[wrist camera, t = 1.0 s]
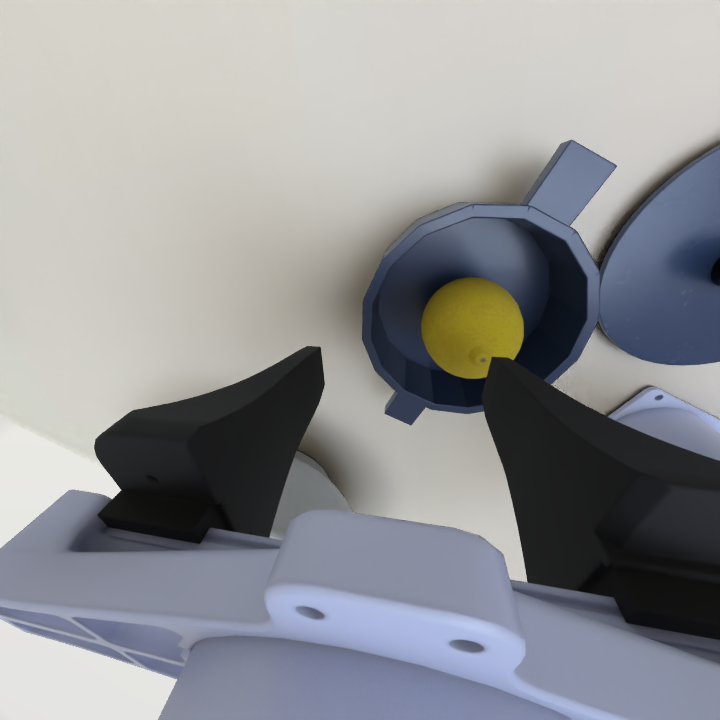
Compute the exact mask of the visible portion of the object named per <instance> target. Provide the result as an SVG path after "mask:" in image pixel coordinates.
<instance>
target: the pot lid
mask: <svg viewBox="0 0 720 720" xmlns="http://www.w3.org/2000/svg"><path fill="white" fill-rule="evenodd" d="M598 322H599V324H600V326H601V328H602V330H603V332H604V333H605V334H606V336H607V337H608V338H609V339H610V340H611V341H612V342H613V343H614V344H615V345H616V346H618V347H619V348H620V349H622V350H624V351H625V352H627V353H629V354H630V355H632V356H635V357H637V358H640V359H642V360H646V361H650V362H653V363H660V364H667V365H699V364H707V363H714V362H720V145H718V146H716V147H714V148H713V149H711V150H709V151H708V152H706V153H705V154H703V155H702V156H700V157H698V158H697V159H695V160H694V161H692V162H691V163H689V164H688V165H687V166H685V167H684V168H683V169H681V170H680V171H679V172H677V173H676V174H674V175H673V176H672V177H671V178H669V179H668V180H667V181H666V182H665V183H664V184H663V185H661V186H660V187H659V188H658V189H657V190H656V191H655V192H653V193H652V194H651V195H650V196H649V197H648V199H647V200H646V201H645V202H644V203H643V204H642V205H641V206H640V207H639V208H638V209H637V210H636V211H635V212H634V214H633V215H632V216H631V217H630V218H629V220H628V221H627V222H626V223H625V225H624V226H623V227H622V229H621V230H620V232H619V233H618V235H617V236H616V238H615V239H614V241H613V242H612V244H611V246H610V248H609V250H608V252H607V254H606V256H605V258H604V260H603V263H602V265H601V268H600V310H599V320H598Z"/></svg>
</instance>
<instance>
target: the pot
mask: <svg viewBox="0 0 720 720" xmlns="http://www.w3.org/2000/svg"><path fill="white" fill-rule="evenodd" d="M616 167H617V165H615V164H613V163H612V162H610V161H608V160H606V159H605V158H603V157H601V156H599V155H598V154H596V153H594V152H593V151H591V150H589V149H587V148H586V147H584V146H582V145H580V144H579V143H577V142H575V141H573V140H570V141H567V142H564V143H561V144H560V146H559V147H558V149H557V150H556V152H555V153H554V155H553V156H552V158H551V159H550V161H549V162H548V164H547V165H546V167H545V168H544V170H543V171H542V173H541V174H540V176H539V177H538V179H537V180H536V182H535V183H534V185H533V186H532V188H531V189H530V191H529V192H528V194H527V195H526V197H525V198H524V200H523V201H522V203H521V204H505V203H467V202H460V203H456V204H454V205H451V206H449V207H446V208H444V209H441V210H438V211H436V212H434V213H431V214H429V215H426V216H424V217H422V218H419V219H418V220H416V221H415V222H414V223H413V224H412V225H411V226H410V227H409V228H408V229H407V230H406V231H405V232H403V233H402V234H401V235H400V236H399V237H398V238H397V239H396V240H395V241H394V242H393V243H392V244H391V245H390V246H389V247H388V249H387V250H386V252H385V254H384V257H383V259H382V261H381V263H380V265H379V267H378V269H377V272H376V274H375V276H374V278H373V280H372V282H371V284H370V287H369V289H368V291H367V293H366V295H365V297H364V301H363V319H362V340H363V343H364V345H365V348H366V350H367V352H368V355H369V357H370V360H371V362H372V365H373V367H374V369H375V371H376V372H377V373H378V374H379V375H380V376H381V377H382V378H383V379H384V380H385V381H386V382H387V383H388V384H389V385H390V386H391V387H392V388H393V389H394V390H395V392H394V394H393V395H392V397H391V398H390V400H389V401H388V403H387V404H386V405H385V414H387V415H389V416H391V417H393V418H396V419H398V420H400V421H402V422H404V423H407V424H409V425H412V424H413V423H414V421H415V420H416V419H417V418H418V416H419V415H420V414H421V413H422V411H423V410H424V409H425V407H427V408H429V409H431V410H438V411H447V412H455V413H463V414H471V413H477V412H483V411H484V408H483V402H482V393H483V389H484V385H485V381H486V377H484V378H478V379H467V378H462V377H458V376H455V375H452V374H450V373H448V372H446V371H445V370H444V369H442V368H441V367H440V366H438V365H437V364H436V363H435V361H434V360H433V359H432V357H431V356H430V354H429V353H428V351H427V350H426V347H425V344H424V341H423V339H422V330H421V321H422V316H423V312H424V309H425V307H426V305H427V303H428V301H429V299H430V298H431V297H432V296H433V295H434V294H435V292H436V291H437V290H439V289H440V288H441V287H443V286H444V285H445V284H447V283H449V282H452V281H454V280H456V279H462V278H467V277H475V278H483V279H486V280H489V281H492V282H495V283H497V284H498V285H500V286H501V287H502V288H504V289H505V290H507V291H508V292H509V294H510V295H511V296H512V297H513V299H514V300H515V301H516V302H517V304H518V306H519V309H520V312H521V315H522V318H523V322H524V338H523V341H522V345H521V348H520V350H519V352H518V354H517V355H516V357H515V358H514V361H515V362H517V363H518V364H520V365H521V366H523V367H524V368H526V369H527V370H529V371H530V372H532V373H533V374H535V375H536V376H538V377H539V378H541V379H542V380H544V381H545V382H547V383H548V384H550V385H551V384H552V383H553V382H554V381H555V380H556V379H558V378H559V377H560V376H561V375H562V374H563V373H564V372H565V371H566V370H567V369H568V368H569V367H571V366H572V365H573V364H574V363H575V362H576V361H577V360H578V359H579V357H580V355H581V353H582V351H583V349H584V347H585V346H586V344H587V342H588V340H589V338H590V336H591V334H592V332H593V330H594V328H595V326H596V324H597V322H598V320H599V310H600V270H599V269H598V267H597V265H596V263H595V262H594V260H593V258H592V256H591V255H590V253H589V251H588V249H587V248H586V246H585V244H584V242H583V241H582V239H581V237H580V236H579V234H578V232H577V231H576V230H575V229H573V228H572V227H570V225H571V224H572V222H573V221H574V220H575V219H576V217H577V216H578V215H579V214H580V212H581V211H582V210H583V209H584V207H585V206H586V205H587V204H588V202H589V201H590V200H591V198H592V197H593V196H594V195H595V193H596V192H597V191H598V190H599V188H600V187H601V186H602V185H603V183H604V182H605V181H606V180H607V178H608V177H609V176H610V175H611V173H612V172H613V171H614V169H615V168H616Z"/></svg>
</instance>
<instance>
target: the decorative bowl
mask: <svg viewBox="0 0 720 720" xmlns="http://www.w3.org/2000/svg"><path fill="white" fill-rule="evenodd" d="M309 510H338V511H345V512H352V513H354V512H353V510H352V509H351V507H350V505H349V504H348V502H347V501H346V499H345V498H344V496H343V495H342V494H341V492H340V491H339V490H338V489H337V488H336V486H335V485H334V484H333V483H332V482H331V481H330V479H329V477H328V475H327V473H326V472H325V471H324V469H323V468H322V467H321V466H320V465H319V464H318V463H317V462H316V461H314V460H313V459H312V458H310V457H309V456H307V455H305V454H303V453H301V452H299V451H296V454H295V457H294V459H293V462H292V465H291V468H290V471H289V474H288V477H287V480H286V483H285V486H284V489H283V492H282V495H281V499H280V502H279V505H278V509H277V512H276V516H275V519H274V522H273V526H272V530H271V533H270V537H269V538H273V539H278V540H283V539H284V536H285V534H286V531H287V528H288V526H289V523H290V520H291V519H293V518H295V517H297V516H299V515H301V514H303V513H305V512H307V511H309Z"/></svg>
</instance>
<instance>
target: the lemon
mask: <svg viewBox="0 0 720 720" xmlns="http://www.w3.org/2000/svg"><path fill="white" fill-rule="evenodd" d="M421 330H422V339H423V341H424V344H425V347H426V350H427V351H428V353H429V354H430V356H431V357H432V359H433V360H434V361H435V363H436V364H437V365H438V366H440V367H441V368H442V369H444V370H445V371H446V372H448V373H450V374H452V375H455V376H458V377H462V378H467V379H478V378H484V377H487V373H488V370H489V366H490V362H491V358H492V357H508V358H510V359H512V360H514V358H515V357H516V355H517V354H518V352H519V350H520V348H521V345H522V341H523V338H524V322H523V318H522V315H521V312H520V309H519V306H518V304H517V302H516V301H515V300H514V299H513V297H512V296H511V295H510V294H509V292H508V291H507V290H505V289H504V288H502V287H501V286H500V285H498V284H497V283H495V282H492V281H489V280H486V279H483V278H475V277H467V278H462V279H456V280H454V281H452V282H449V283H447V284H445V285H444V286H443V287H441V288H440V289H439V290H437V291H436V292H435V294H434V295H433V296H432V297H431V298H430V299H429V301H428V303H427V305H426V307H425V309H424V312H423V316H422V321H421Z"/></svg>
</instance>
